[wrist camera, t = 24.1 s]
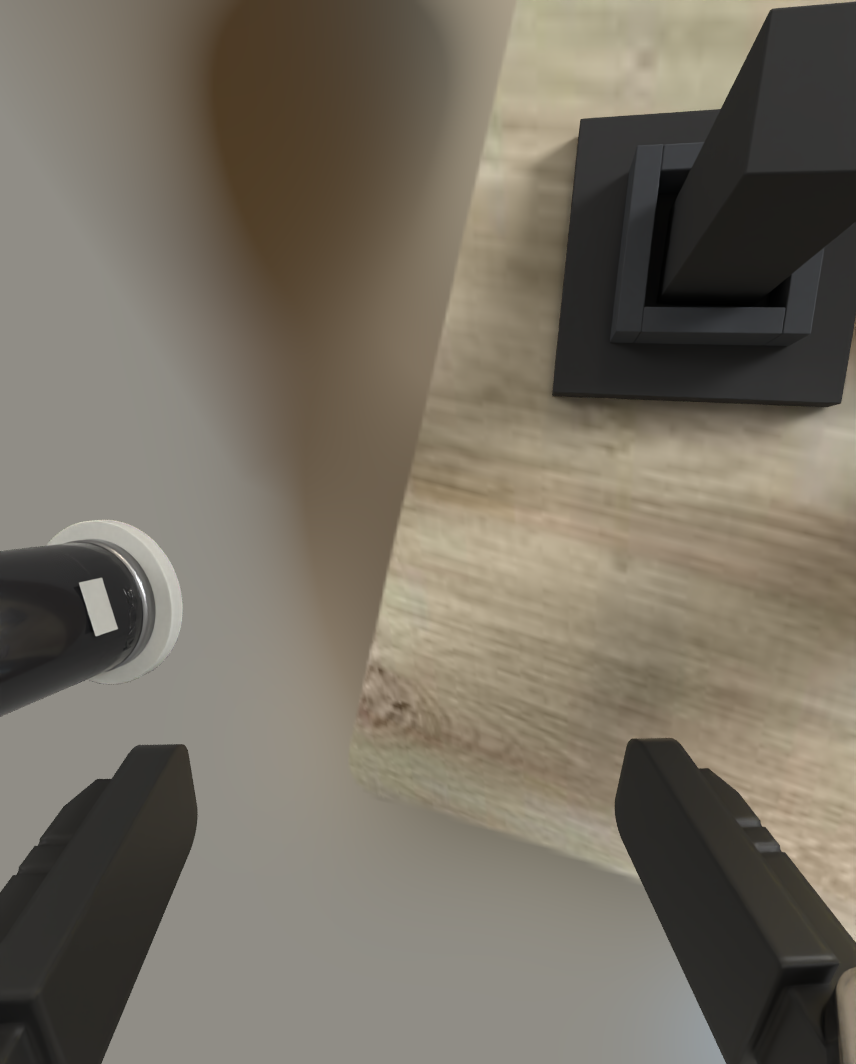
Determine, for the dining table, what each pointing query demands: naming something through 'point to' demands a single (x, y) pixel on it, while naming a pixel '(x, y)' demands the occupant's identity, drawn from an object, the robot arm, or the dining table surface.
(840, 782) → the dining table surface
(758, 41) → the block
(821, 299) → the base pad
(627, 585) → the dining table surface
